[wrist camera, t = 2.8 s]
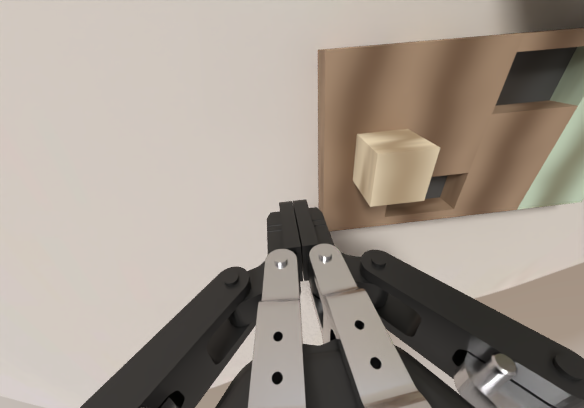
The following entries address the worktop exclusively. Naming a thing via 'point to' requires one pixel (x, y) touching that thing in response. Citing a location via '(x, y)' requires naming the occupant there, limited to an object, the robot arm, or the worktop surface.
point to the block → (393, 166)
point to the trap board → (457, 122)
